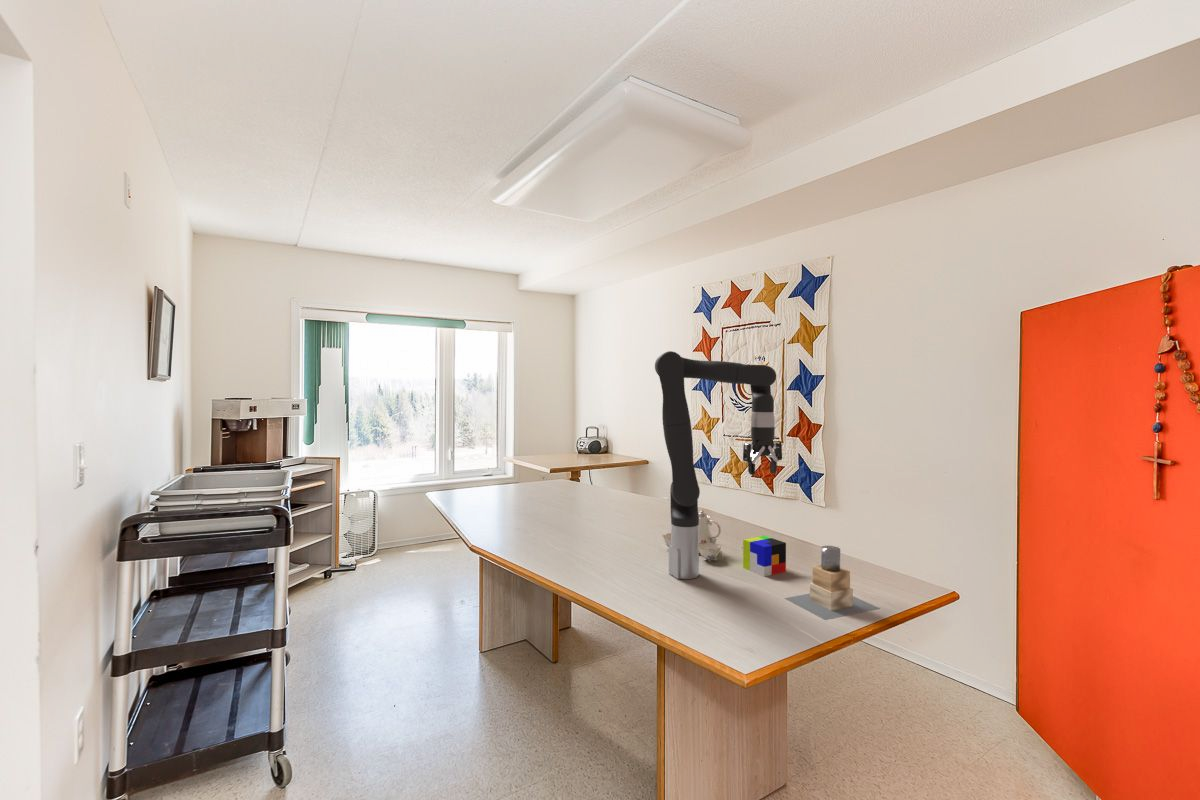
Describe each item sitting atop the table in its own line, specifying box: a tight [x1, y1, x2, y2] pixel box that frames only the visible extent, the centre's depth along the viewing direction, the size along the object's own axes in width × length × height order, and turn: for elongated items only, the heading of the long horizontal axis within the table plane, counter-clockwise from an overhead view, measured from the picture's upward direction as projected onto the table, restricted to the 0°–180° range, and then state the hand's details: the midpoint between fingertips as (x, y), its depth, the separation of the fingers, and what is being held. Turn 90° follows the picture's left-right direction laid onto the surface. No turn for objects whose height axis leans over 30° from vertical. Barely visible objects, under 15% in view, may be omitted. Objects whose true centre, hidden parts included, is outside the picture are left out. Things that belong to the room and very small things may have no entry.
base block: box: [809, 582, 854, 611], centre depth 155 cm, size 8×8×5 cm
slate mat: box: [784, 593, 881, 621], centre depth 155 cm, size 20×16×1 cm
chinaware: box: [661, 509, 724, 562], centre depth 204 cm, size 28×17×17 cm, turn 45°
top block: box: [812, 565, 851, 592], centre depth 155 cm, size 7×7×5 cm
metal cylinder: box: [820, 545, 841, 572], centre depth 154 cm, size 5×5×6 cm
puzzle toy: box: [742, 535, 787, 577], centre depth 185 cm, size 10×10×10 cm
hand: (762, 473), depth 179 cm, fingers open, 8 cm apart
